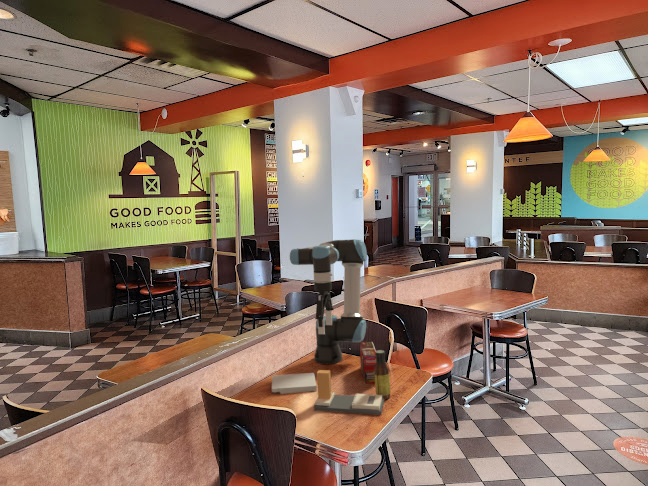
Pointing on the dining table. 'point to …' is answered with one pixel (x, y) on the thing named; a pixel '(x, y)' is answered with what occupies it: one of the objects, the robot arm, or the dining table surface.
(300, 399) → the dining table surface
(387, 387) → the sauce bottle
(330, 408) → the mat
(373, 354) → the ice cream box
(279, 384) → the grey flat slab
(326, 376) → the tan block with base
